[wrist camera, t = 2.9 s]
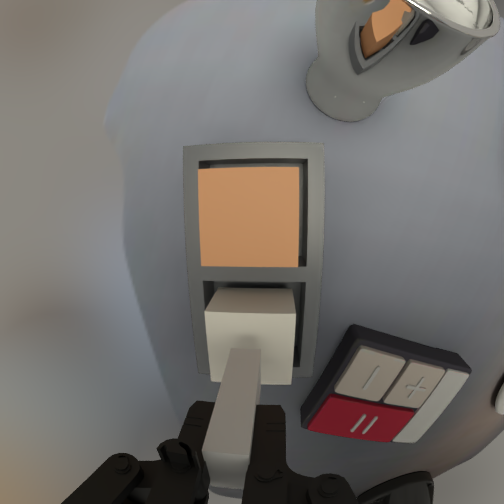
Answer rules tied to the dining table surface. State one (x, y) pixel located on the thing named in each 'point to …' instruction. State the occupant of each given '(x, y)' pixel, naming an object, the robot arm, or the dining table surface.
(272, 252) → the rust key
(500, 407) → the flower in vase
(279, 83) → the dining table surface
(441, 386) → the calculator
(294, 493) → the robot arm
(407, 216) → the dining table surface
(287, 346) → the cream key
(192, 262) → the key housing
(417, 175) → the dining table surface
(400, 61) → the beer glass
